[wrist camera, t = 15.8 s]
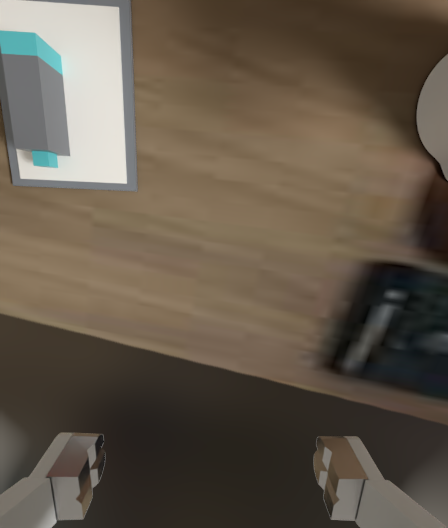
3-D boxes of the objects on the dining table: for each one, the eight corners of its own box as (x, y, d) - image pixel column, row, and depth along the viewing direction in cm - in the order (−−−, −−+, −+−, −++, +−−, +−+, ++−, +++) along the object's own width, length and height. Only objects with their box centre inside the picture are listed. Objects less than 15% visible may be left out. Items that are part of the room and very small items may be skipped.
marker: (29, 54, 31) (-2, 30, 26) (60, 56, 31) (35, 32, 26) (43, 168, 34) (17, 163, 29) (71, 169, 34) (49, 165, 29)
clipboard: (130, -19, 30) (125, -30, 28) (137, 191, 35) (133, 191, 34) (-15, -29, 29) (-28, -42, 28) (16, 185, 35) (7, 185, 33)
